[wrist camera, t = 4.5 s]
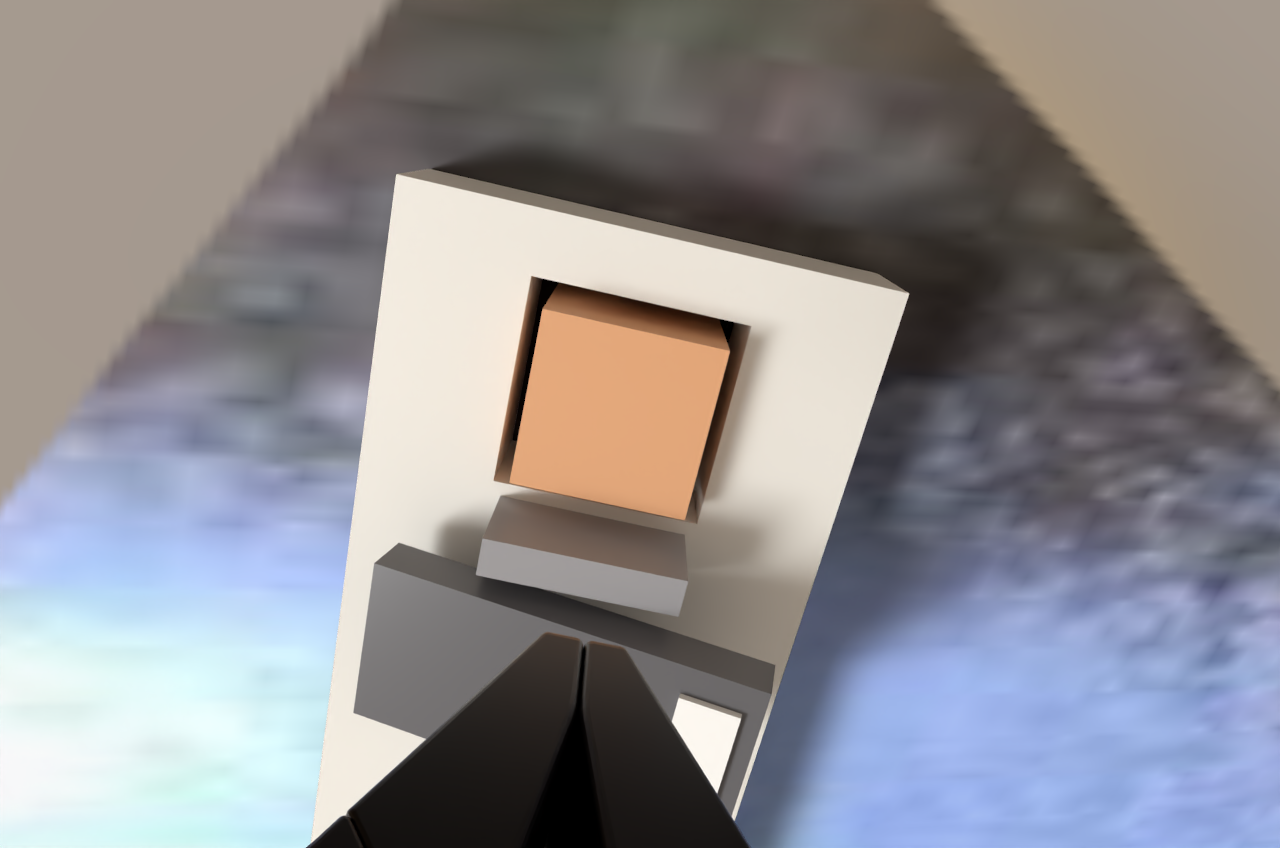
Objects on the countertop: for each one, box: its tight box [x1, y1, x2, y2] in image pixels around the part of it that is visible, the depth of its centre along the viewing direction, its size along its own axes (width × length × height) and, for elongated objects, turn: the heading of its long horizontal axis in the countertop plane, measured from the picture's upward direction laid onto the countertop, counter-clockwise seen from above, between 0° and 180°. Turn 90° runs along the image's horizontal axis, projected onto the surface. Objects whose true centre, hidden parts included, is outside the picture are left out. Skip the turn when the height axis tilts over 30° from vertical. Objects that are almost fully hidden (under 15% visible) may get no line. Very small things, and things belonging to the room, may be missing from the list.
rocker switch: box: [353, 543, 775, 817], centre depth 17 cm, size 8×4×1 cm, turn 77°
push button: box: [509, 282, 730, 520], centre depth 18 cm, size 4×4×3 cm
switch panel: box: [311, 169, 909, 843], centre depth 19 cm, size 10×18×4 cm, turn 167°
